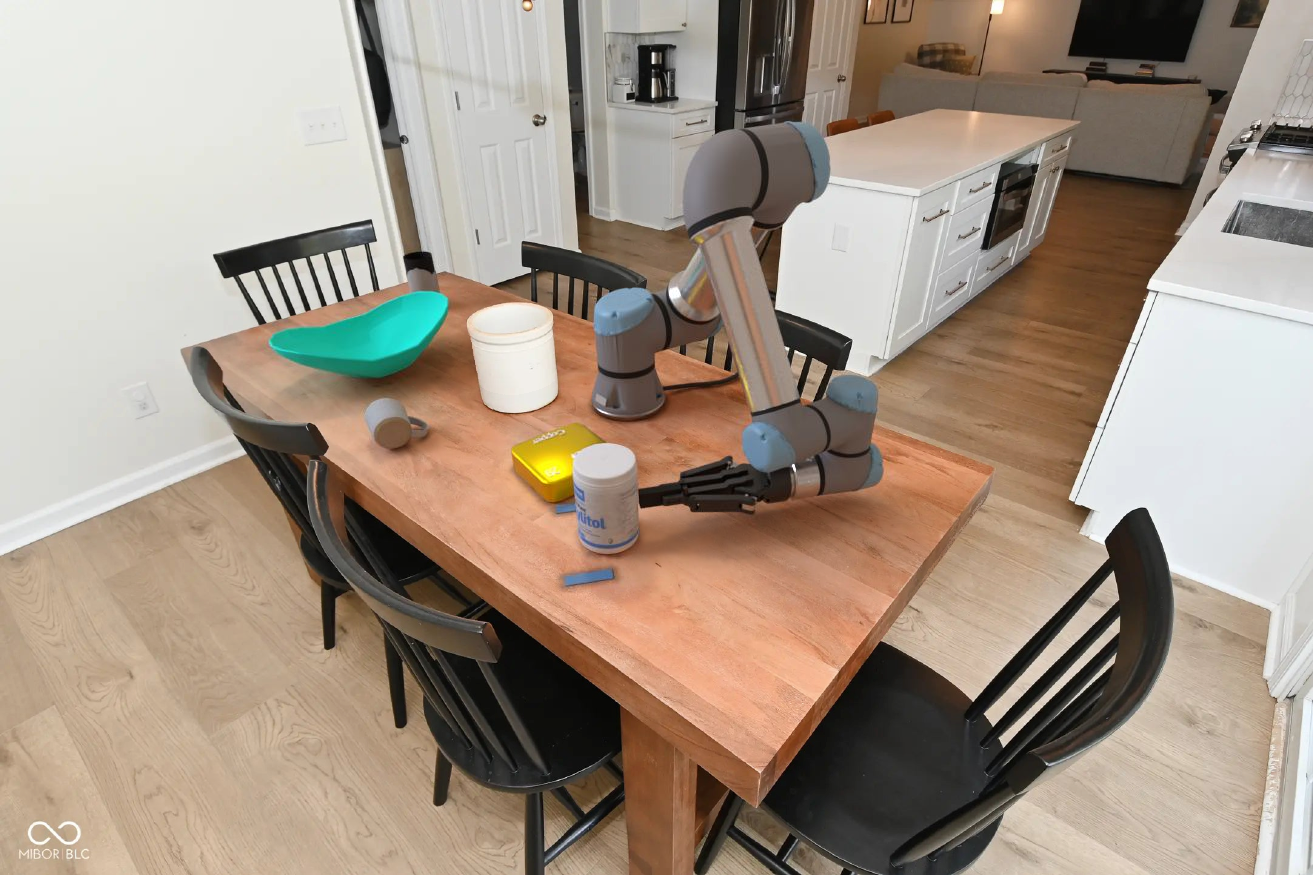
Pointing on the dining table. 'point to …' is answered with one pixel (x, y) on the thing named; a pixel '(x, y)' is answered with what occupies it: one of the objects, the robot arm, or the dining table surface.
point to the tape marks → (583, 576)
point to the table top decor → (368, 338)
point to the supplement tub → (606, 497)
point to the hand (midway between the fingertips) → (639, 498)
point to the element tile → (552, 460)
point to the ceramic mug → (392, 423)
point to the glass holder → (421, 272)
